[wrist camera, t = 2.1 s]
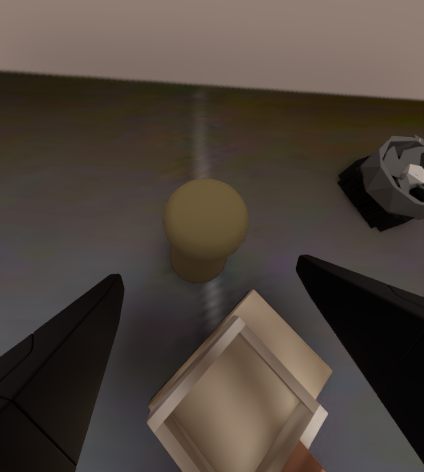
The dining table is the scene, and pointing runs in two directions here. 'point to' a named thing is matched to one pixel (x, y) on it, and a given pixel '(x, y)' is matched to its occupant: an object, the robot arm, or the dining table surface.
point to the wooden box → (244, 398)
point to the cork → (204, 228)
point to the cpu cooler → (389, 182)
